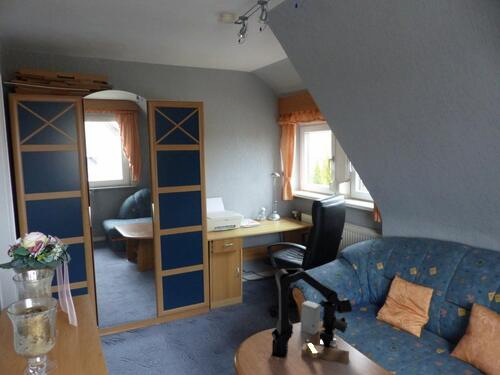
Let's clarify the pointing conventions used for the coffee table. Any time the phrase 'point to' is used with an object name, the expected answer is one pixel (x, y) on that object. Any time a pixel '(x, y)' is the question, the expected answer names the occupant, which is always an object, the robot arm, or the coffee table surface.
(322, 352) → the body
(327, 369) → the coffee table surface
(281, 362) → the coffee table surface
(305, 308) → the skincare box
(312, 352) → the lever
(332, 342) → the grey squarish block
